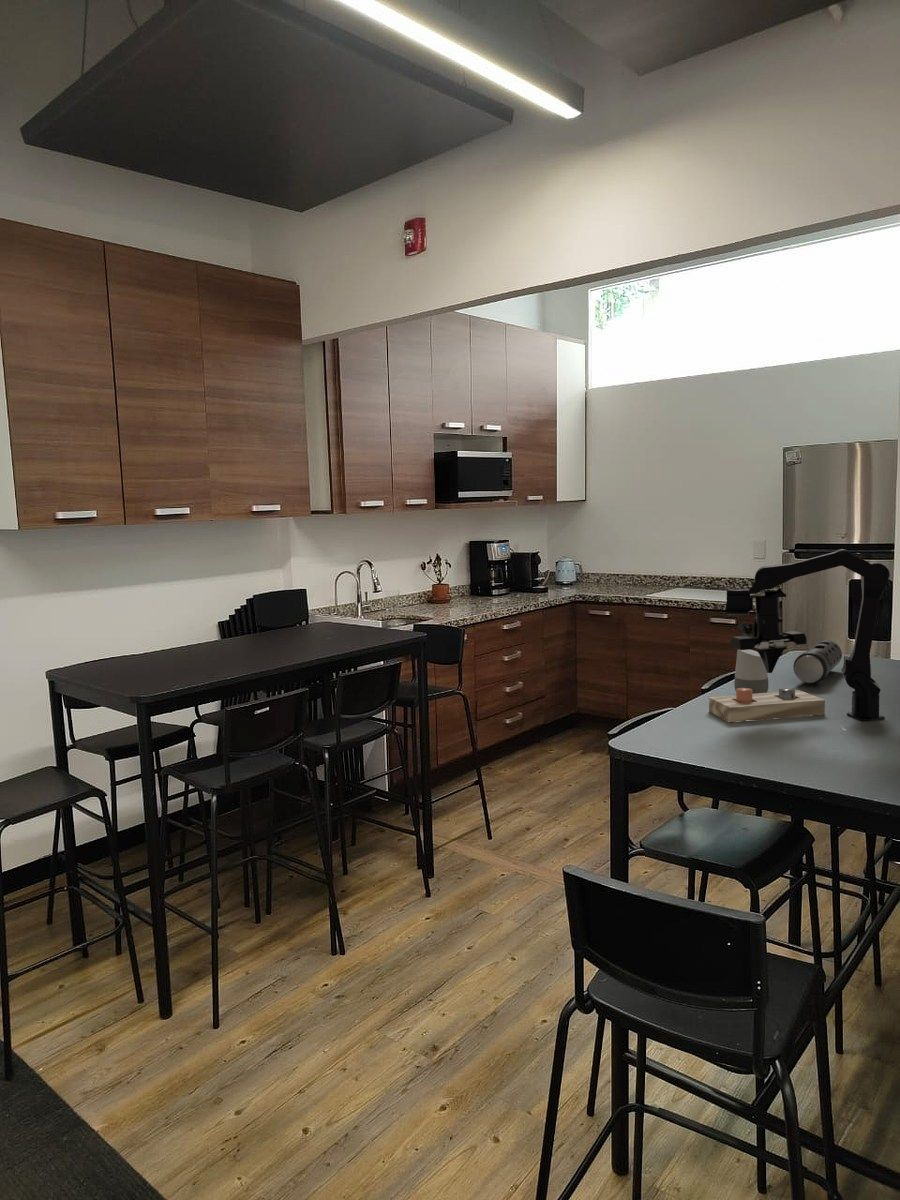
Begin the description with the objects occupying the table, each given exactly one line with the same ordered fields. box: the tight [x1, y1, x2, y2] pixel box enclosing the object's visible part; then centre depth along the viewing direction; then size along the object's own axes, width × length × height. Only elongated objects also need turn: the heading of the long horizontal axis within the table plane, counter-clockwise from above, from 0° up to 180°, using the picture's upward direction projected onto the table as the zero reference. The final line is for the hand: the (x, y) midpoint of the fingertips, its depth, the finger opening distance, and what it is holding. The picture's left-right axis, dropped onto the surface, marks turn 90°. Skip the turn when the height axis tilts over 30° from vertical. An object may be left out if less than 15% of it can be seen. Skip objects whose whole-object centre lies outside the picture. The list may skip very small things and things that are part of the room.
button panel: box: [708, 689, 826, 723], centre depth 215 cm, size 12×26×4 cm, turn 98°
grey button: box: [778, 687, 796, 700], centre depth 216 cm, size 4×4×6 cm
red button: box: [735, 688, 752, 703], centre depth 214 cm, size 4×4×6 cm
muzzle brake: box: [793, 640, 843, 685], centre depth 253 cm, size 10×28×10 cm, turn 145°
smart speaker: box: [734, 649, 769, 694], centre depth 234 cm, size 10×9×14 cm
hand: (769, 672), depth 214 cm, fingers closed
